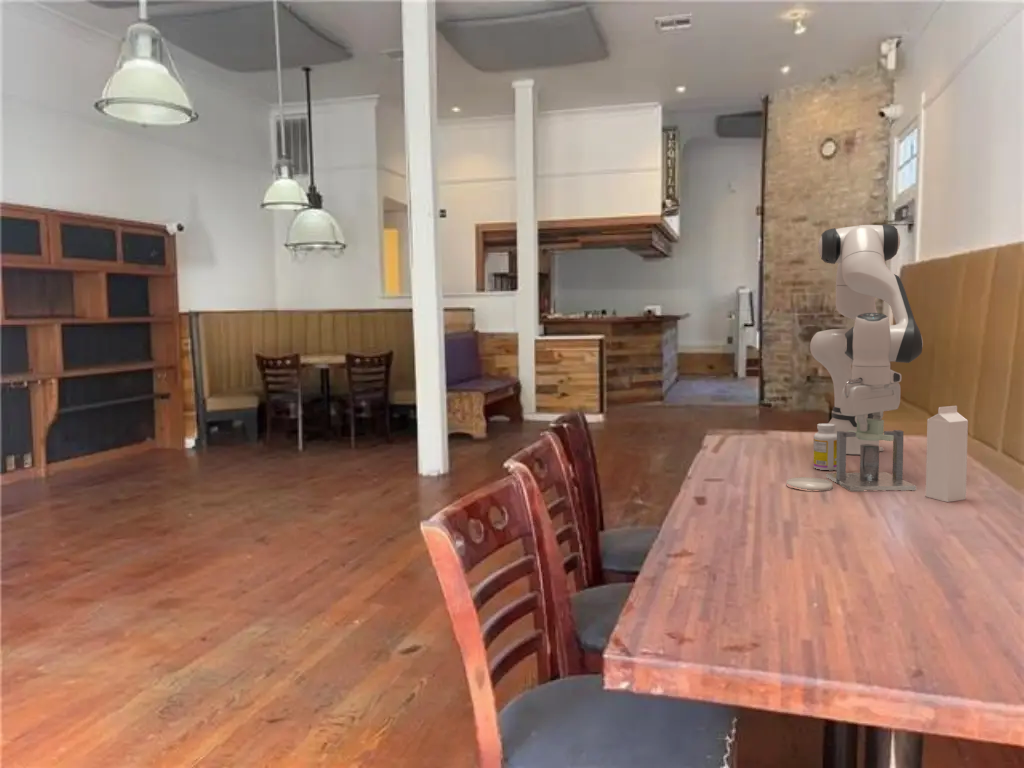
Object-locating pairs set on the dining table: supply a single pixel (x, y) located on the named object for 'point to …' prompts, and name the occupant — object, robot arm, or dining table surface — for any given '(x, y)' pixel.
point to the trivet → (810, 483)
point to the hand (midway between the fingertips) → (869, 429)
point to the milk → (946, 455)
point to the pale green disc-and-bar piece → (873, 431)
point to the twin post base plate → (870, 466)
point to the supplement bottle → (825, 447)
